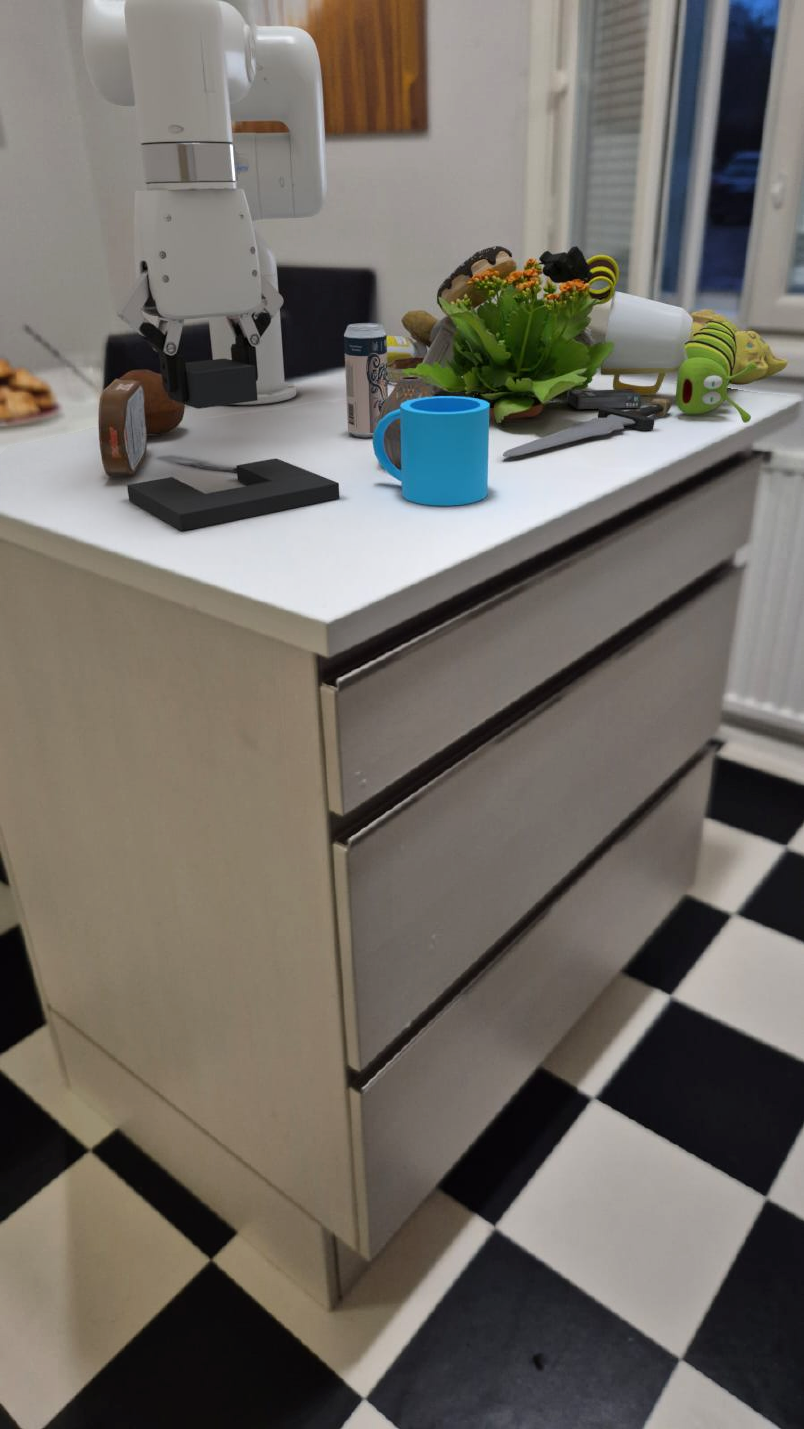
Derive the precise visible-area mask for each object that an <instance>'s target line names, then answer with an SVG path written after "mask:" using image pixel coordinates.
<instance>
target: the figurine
mask: <svg viewBox="0 0 804 1429" xmlns="http://www.w3.org/2000/svg"><path fill="white" fill-rule="evenodd" d="M688 314H689V315H690V316H691V317H692V318H693V324H692V331H691V336H690V341H692V337H693V335H694V334H696V333H699V331H700V329H702V328H705V324H706V322H708V321H717V322H720V323H723V322H724V321H729V322H730V324H731V326H732V328H733V329H734V331H735V335H736V346H737V349H736V356H735V365H734V368H733V370H732V376H733V375H735V374H738V373H740V372H742V371H743V370H745V369H746V368H747V367H748V365H749V364H750V363H751V362H754V363H756V365H757V368H756V369H755V370H752V371H749V372H747V373H745V374H742V375H740V376H737V377H735V378H733V379H731V380H730V383H729V384H731V385H735V386H736V385H737V386H743V385H744V386H745V385H748V384H751V383H753V382H756V381H761V380H763V379H766V378H768V377H771V376H773V375H775V374H778V373H780V372H782V371H783V370H784V369H785V368H786V367H787V365H788V360H787V359H785V358H780V357H777V356H776V355H774V353H773V352H772V350H771V348H770V345H769V344H768V343H767V342H766V340H764V339H763V338H762V336H760V335H759V333H757V332H756V331H754V330H739V329H738V327H737V326H736V325H735V324H734V323H732V321H730V320H729V319H727V318H726V317H725V316H723V315H721V314H719V313H715V312H714V310H713V309H710V308H705V309H700V310H699V311H694V312H691V314H690V313H688ZM679 368H680V367H679ZM679 368H678V369H679Z"/></svg>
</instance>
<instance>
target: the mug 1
mask: <svg viewBox="0 0 804 1429" xmlns="http://www.w3.org/2000/svg"><path fill="white" fill-rule="evenodd" d="M489 406H490V403H488V402H487V401H484V400H481V399H477V398H470V397H469V396H458V395H457V396H455V395H439V396H438V395H437V396H436V395H435V396H433V397H424V398H417V399H412V400H408V401H405V402H403V403H401V406H400V409H398V410H395V411H392V412H390V413H388V414H387V415H386V416H385V417H384V418H382V419H381V420H380V421H379V423H378V425H377V427H376V429H375V430H374V435H373V437H372V448H373V453H374V456H375V458H376V459H377V461H378V464H379V465H380V466H381V467H382V468H383V470H384V471H385V472H387V474H388V475H390V476H391V477H393V478H394V479H396V480H397V481H399V482H401V496H402V497H403V498H404V499H405V500H406V501H409V502H412V503H416V504H418V505H419V504H420V505H425V506H436V507H437V506H438V507H439V506H440V507H443V506H444V507H445V506H447V507H451V506H461V505H468V504H473V503H476V502H479V501H481V500H484V499H485V498H486V497H488V488H489V487H488V486H489V485H488V484H489V483H488V482H489V447H490V446H489V445H490V444H489V442H490V441H489V440H490V438H489V437H490V419H489ZM398 418H400V422H401V468H397V467H395V466H394V465H393V463H392V462H391V461H390V460H389V458H388V456H387V454H386V452H385V449H384V444H383V439H384V432H385V431H386V429H387V427H388V425H389V424H390V423H391V422H393V421H394V420H395V419H398Z"/></svg>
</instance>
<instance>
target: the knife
mask: <svg viewBox="0 0 804 1429" xmlns="http://www.w3.org/2000/svg"><path fill="white" fill-rule="evenodd" d="M176 464H178V465H181V466H186V467H190V468H197V469H200V470H206V471H214V472H215V471H216V472H224V473H225V472H226V473H233V474H237V469H236V467H223V466H215V465H206V464H203V463H201V462H176Z"/></svg>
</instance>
